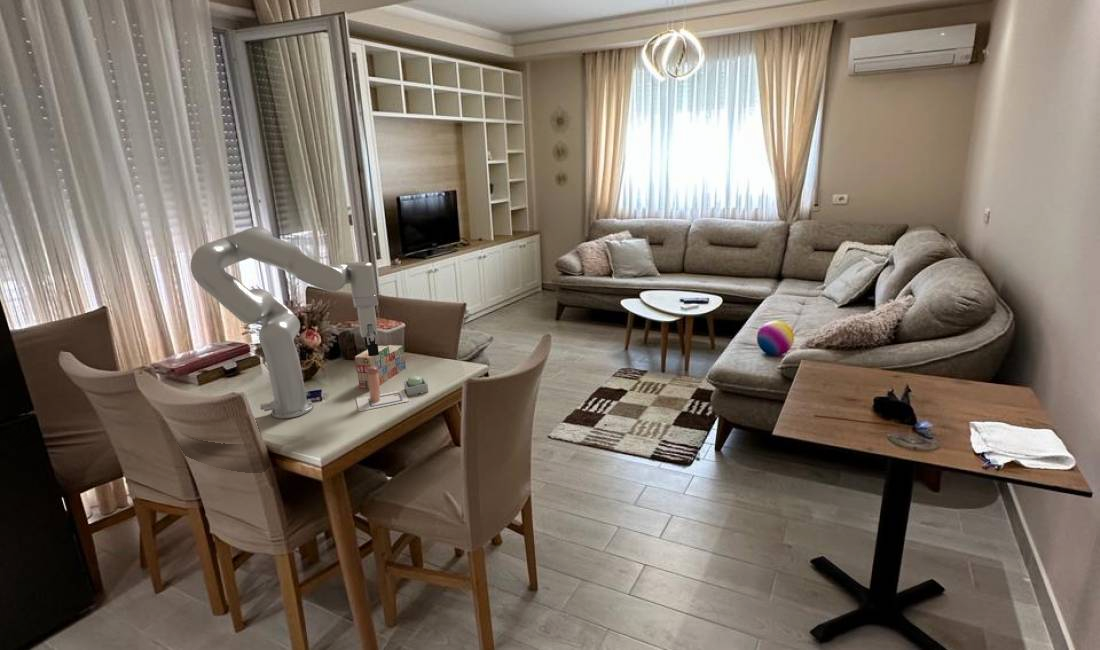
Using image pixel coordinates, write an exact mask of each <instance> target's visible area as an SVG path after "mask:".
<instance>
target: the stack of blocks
mask: <svg viewBox="0 0 1100 650" xmlns="http://www.w3.org/2000/svg"><path fill="white" fill-rule="evenodd" d="M378 351H379V355H376V356H369V355H368V348H366V350H364V351H361V352H360V353H359V354H357V355H355V356H354V361H355V369H356V373H357V378H358V385H359V386H358V387H359V389H368V390H369V379H368V371H367V368H368V367H372V366H376V367H378V378H379V387H380V386H381V385H383V384H384V383H386V382H388V381H389V380H390V379H391V378H394V376H396V375H397V374H399V373H400V372H402V371H404V370H405V369H406V360H405V354H404V347H403V345H378Z"/></svg>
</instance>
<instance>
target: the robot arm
mask: <svg viewBox="0 0 1100 650" xmlns="http://www.w3.org/2000/svg"><path fill="white" fill-rule="evenodd" d="M249 259H253V260H255V261H258V262H261V263H263V264H265V265H269V266H271V267H274V268H277V269H280V270H281V271H285V272H286V273H289V275H291V276H293V277H295V278H296V279H297V280H300V281H302V282H303V283H306V284H308V285H311V286H314V287H316V288H320V289H322V290H325V291H327V292H339V291H340V290H342V289H343V288H344V287H345V286H346V285H350V290H351V295H352V303H353V307H354V308H357V318H358V326H359V327H358V328H359V333H360V336H361V338H363V339H364V344H365V348H366V349H368V355H369V356H376V355H379V351H378V346H379V345H378V342H377V336H378V324H377V323H378V322H377V315H376V308H375V306H378V304H379V301H378V293H377V292H378V291H377V286H376V277H375V270H374V265H373V263H372V262H370V261H357V262H345V261H344V262H343V261H340V262H339V261H336V262H333V263H331V264H324V263H322V262H320V261H318V260H315V259H313V258H311V257H309V256H308V255H306V254H305V253H304V252H303V251H302V250H301V248H300V247H299V246H297V245H296V244H294V243H291V242H288V241H285V240H282V239H280V238H278V237H275V236H273V234H272V233H271V232H270V231H269V230H268V229H267V228H264V227H262V226H253V227H250V228H246V229H244V230H242V231H240V232H237V233H233V234H231V235H228V236H225V237H222V238H219V239H216V240H213V241H211V242H206V243H204V244H203V245H200V246H199V247H198V248H197V249H196V250H195V251H194V252H193V254H192V256H191V260H190V271H191V275H192V277H193V279H194V280H195V282H196V283H197V285H198V286H200V287H201V288H202V289H203V290H204V291H206V293H208V294H209V295H210V296H212V297H213V298H214V299H215V300H216V301H218V302H219V303H220V304H221V305H222V306H223V307H224V308H225V309H226V310H228V311H229V312H230V313H231V314H232V315H233V316H234V317H236V318H237V319H238V320H239V321H240V322H242V323H243V324H246V325H254V324H255V325H256V324H257V323H261V324H262V326H261V328H260V330H259V333H258V335H259V337H258V339H259V344H260V346H261V349H262V351H263V354H264V357H265V362H266V366H267V370H268V374H269V381H270V384H271V389H272V394H273V395H272V396H273V400H271V401H270V402H266V403H260V404H259V405H260V406H259V407H260V410H261V411H264V412H269V411H271V415H272V417H274V418H275V419H291V418H297V417H299V416H302V415H305V414H307V413H309V412H310V411H312V409H313V408H314V403H313V402H312V401H311V400H308V399H307V393H306V388H305V383H304V378H303V372H302V367H301V362H300V358H299V354H298V350H297V347H296V345H295V340H294V339H295V338H296V336H297V335H298V333H299V332H300V329H301V323H300V319H299V318H298V316H297V315H296V314H295V313H293V311H291V309H290V308H289V307H287V306H286V305H285V304H284V303H282V302H281V301H280V300H279V299H278V298H277V297H275V295H274V294H272V293H271V292H269V291H267V290H266V289H262V288H252V289H249V288H248V287H247V286H245V285H244V284H243V283H242V282H241V281H240V280H238V278H236V277H235V276H233V275H232V274H229V273H228V272H227V271H226V270H225V268H227V267H229V266H232V265H235V264H237V263H240V262H242V261H245V260H249Z"/></svg>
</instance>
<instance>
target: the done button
mask: <svg viewBox="0 0 1100 650" xmlns="http://www.w3.org/2000/svg"><path fill="white" fill-rule="evenodd" d="M422 378H423V377H422V376H421V375H412V376H409V377H408V378H407V380H408V384H409V387H412V386H417V385H422V384H423V382H422Z"/></svg>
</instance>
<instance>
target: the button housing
mask: <svg viewBox="0 0 1100 650" xmlns="http://www.w3.org/2000/svg"><path fill="white" fill-rule="evenodd" d="M422 382H423V384H422V385H417V386H412V387H409V384H408V379H407V380H404V381H403V385H404V391H405V394H406V396H407V397H411V396H415V395H414V394H416V395H419V394H418V393H421V394H423V393H422V392H426V393H428V392H429V386H428V382H427V381H426V379H425V377H422ZM427 391H428V392H427ZM410 395H411V396H410Z"/></svg>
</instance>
